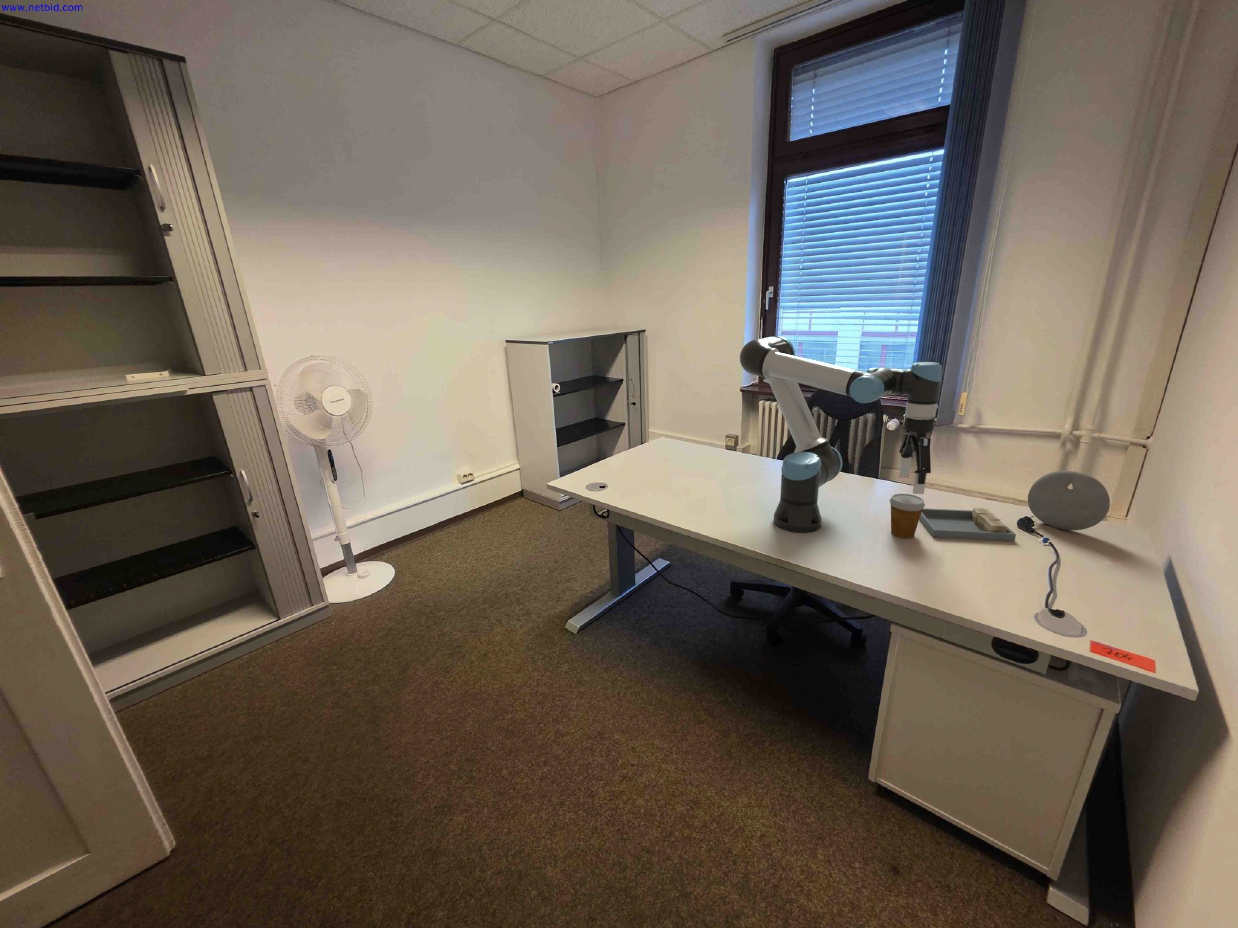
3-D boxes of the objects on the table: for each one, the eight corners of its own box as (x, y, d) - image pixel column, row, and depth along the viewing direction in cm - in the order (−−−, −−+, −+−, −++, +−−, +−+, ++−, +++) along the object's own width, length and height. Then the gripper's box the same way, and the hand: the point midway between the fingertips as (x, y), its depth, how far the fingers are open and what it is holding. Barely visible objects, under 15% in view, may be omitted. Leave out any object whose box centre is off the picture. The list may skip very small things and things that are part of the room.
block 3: (989, 537, 147) (991, 525, 146) (983, 531, 151) (985, 519, 150) (1004, 538, 147) (1007, 526, 145) (997, 532, 150) (1000, 520, 149)
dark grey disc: (1101, 533, 148) (1118, 475, 142) (1099, 541, 143) (1117, 482, 137) (1024, 516, 161) (1036, 462, 155) (1020, 524, 156) (1032, 468, 150)
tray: (932, 538, 150) (933, 529, 149) (914, 516, 165) (915, 508, 164) (1014, 543, 145) (1016, 534, 144) (988, 519, 160) (989, 511, 159)
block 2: (984, 531, 151) (986, 519, 150) (976, 525, 155) (978, 514, 154) (997, 531, 151) (1000, 519, 150) (989, 525, 155) (991, 514, 153)
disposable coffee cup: (924, 541, 148) (930, 505, 144) (890, 540, 150) (895, 504, 146) (913, 527, 157) (918, 493, 153) (881, 526, 159) (885, 492, 155)
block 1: (974, 524, 156) (976, 512, 155) (971, 519, 160) (973, 507, 158) (989, 525, 155) (992, 514, 153) (985, 520, 158) (988, 509, 157)
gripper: (951, 427, 129) (940, 501, 136) (920, 407, 152) (911, 471, 159) (920, 427, 131) (910, 500, 138) (893, 407, 154) (885, 471, 161)
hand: (910, 485), depth 148 cm, fingers open, 13 cm apart
